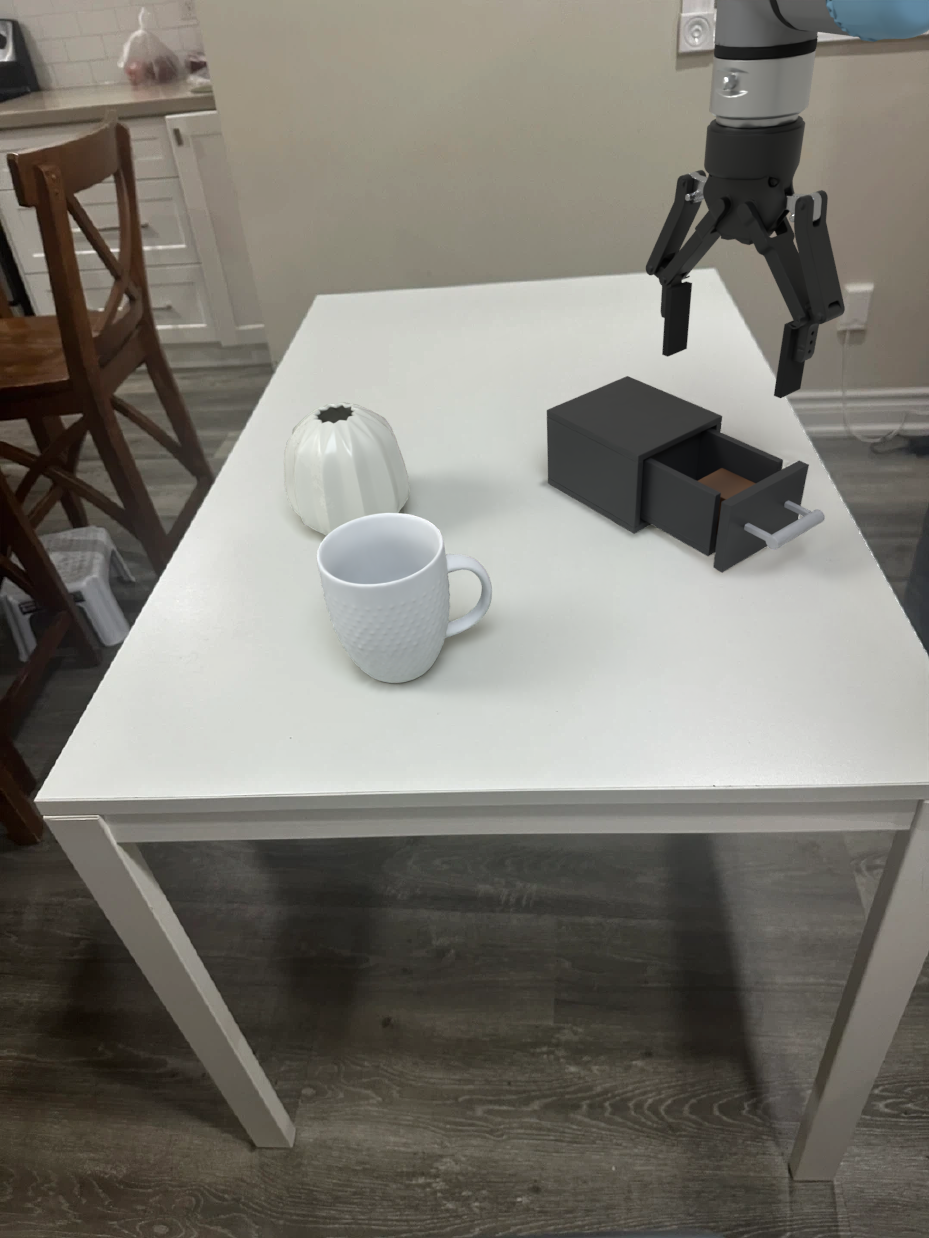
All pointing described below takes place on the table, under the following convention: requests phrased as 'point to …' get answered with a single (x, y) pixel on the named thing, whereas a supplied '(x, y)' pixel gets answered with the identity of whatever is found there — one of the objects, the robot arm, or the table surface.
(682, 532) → the drawer
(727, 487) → the block
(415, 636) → the mug
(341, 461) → the vase
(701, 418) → the cabinet
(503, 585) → the table surface
